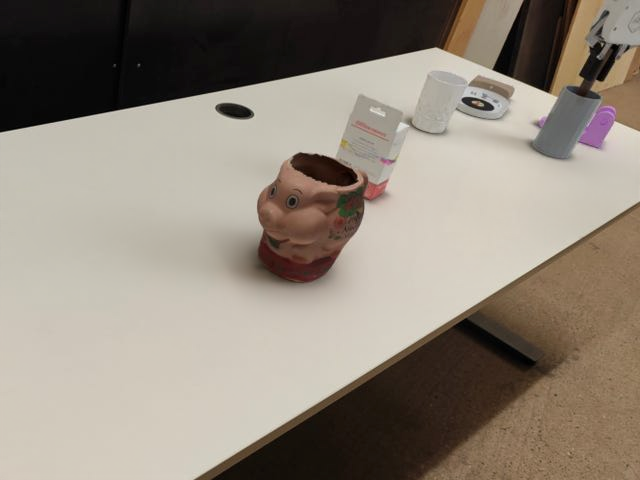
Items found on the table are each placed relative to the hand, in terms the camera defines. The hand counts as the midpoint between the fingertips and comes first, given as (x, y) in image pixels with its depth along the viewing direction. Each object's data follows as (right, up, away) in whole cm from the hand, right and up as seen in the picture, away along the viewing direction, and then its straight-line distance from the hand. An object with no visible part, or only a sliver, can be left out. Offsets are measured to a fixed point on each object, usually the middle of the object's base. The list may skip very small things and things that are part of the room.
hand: (591, 78), depth 128 cm
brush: (-2, -8, +7) cm, 11 cm away
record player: (-9, +5, +25) cm, 27 cm away
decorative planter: (-63, -40, -35) cm, 83 cm away
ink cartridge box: (-50, -25, -15) cm, 58 cm away
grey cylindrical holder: (-2, -11, +10) cm, 15 cm away
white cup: (-28, -6, +10) cm, 30 cm away
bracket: (+7, -4, +19) cm, 21 cm away
